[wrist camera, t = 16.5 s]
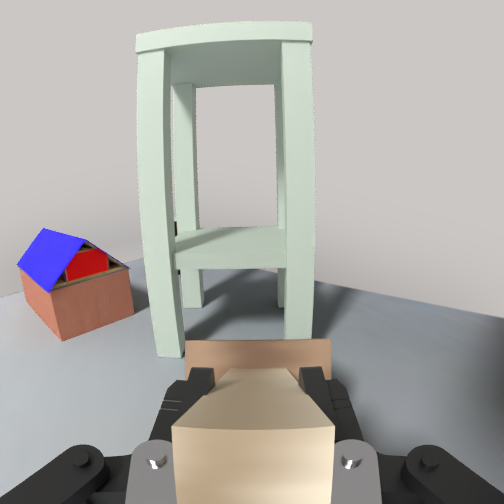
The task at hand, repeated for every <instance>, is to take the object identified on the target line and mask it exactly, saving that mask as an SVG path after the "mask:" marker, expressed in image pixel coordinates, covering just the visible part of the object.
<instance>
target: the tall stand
mask: <svg viewBox="0 0 504 504" xmlns="http://www.w3.org/2000/svg"><path fill="white" fill-rule="evenodd" d="M312 42H313V35H312V23H311V22H293V21H247V22H227V23H213V24H202V25H193V26H185V27H177V28H171V29H164V30H158V31H152V32H147V33H141V34H137V35H136V49H135V50H136V51H135V52H136V53H137V54H138V55H139V56H138V57H139V58H138V77H137V78H138V79H137V167H138V189H139V206H140V220H141V232H142V244H143V254H144V263H145V272H146V281H147V289H148V296H149V304H150V311H151V317H152V324H153V330H154V336H155V342H156V348H157V354H158V357H168V358H181V357H182V355H183V352H184V350H185V335H184V326H183V318H182V309H181V299H180V289H179V279H178V269H180V272H181V283H182V294H183V304H184V308H202V306H203V303H204V289H203V275H202V269H255V268H278V307H284V339H311V336H312V318H313V297H314V269H315V222H316V221H315V220H316V218H315V217H316V190H315V189H316V183H315V182H316V178H315V177H316V176H315V129H314V105H313V83H312V66H311V51H310V47H311V44H312ZM265 84H274V88H275V89H274V90H275V121H276V155H277V156H276V159H277V160H276V161H277V215H278V216H277V226H269V227H268V226H267V227H222V228H221V227H218V228H200V226H199V207H198V181H197V149H196V88H202V87H215V86H233V85H265ZM171 85H172V86H173V142H174V143H173V144H174V176H175V177H174V178H175V200H176V218H177V234H178V235H177V236H176V237H175V229H174V213H173V196H172V195H173V194H172V171H171V129H170V86H171Z"/></svg>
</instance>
